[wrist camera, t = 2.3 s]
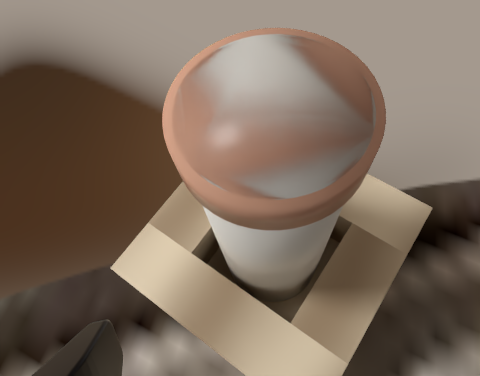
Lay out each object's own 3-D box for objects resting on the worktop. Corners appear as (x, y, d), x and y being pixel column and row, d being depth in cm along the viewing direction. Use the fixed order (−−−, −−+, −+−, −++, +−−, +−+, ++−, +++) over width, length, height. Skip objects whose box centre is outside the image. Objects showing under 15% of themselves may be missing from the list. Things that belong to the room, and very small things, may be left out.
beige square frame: (406, 234, 19) (432, 207, 16) (305, 417, 16) (313, 428, 13) (247, 145, 23) (243, 108, 19) (136, 284, 19) (110, 268, 16)
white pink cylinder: (338, 244, 19) (424, 79, 8) (287, 327, 17) (309, 257, 7) (259, 196, 20) (244, 3, 10) (205, 269, 19) (117, 135, 8)
